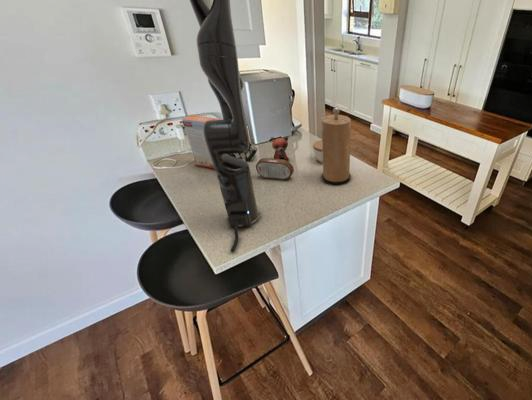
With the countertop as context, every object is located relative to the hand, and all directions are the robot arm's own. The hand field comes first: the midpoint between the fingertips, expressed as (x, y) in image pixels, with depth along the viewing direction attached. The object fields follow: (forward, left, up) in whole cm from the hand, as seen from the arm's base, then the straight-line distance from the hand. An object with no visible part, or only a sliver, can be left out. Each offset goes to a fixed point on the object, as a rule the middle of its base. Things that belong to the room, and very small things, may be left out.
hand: (244, 170), depth 113 cm
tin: (0, -12, -4) cm, 12 cm away
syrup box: (+18, +4, -4) cm, 19 cm away
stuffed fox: (+17, -12, -4) cm, 21 cm away
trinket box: (+17, -32, -4) cm, 36 cm away
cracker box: (+11, +16, -4) cm, 20 cm away
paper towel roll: (0, -37, -4) cm, 37 cm away
